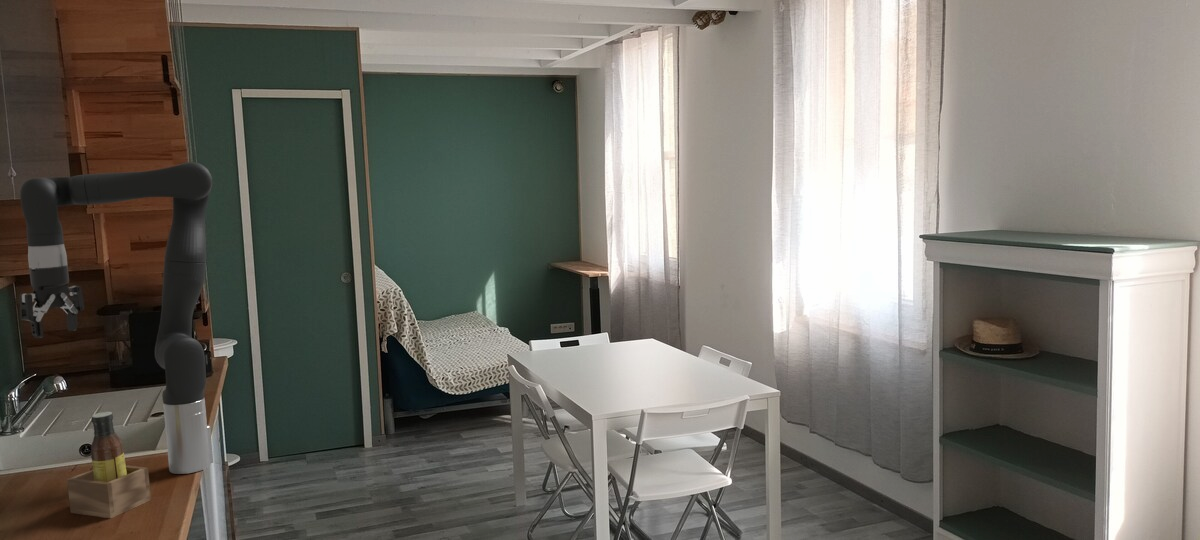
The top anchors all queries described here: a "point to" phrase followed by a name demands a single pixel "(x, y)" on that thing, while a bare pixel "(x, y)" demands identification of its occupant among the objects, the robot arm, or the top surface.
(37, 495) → the top surface
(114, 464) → the sauce bottle
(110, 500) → the box
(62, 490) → the top surface
